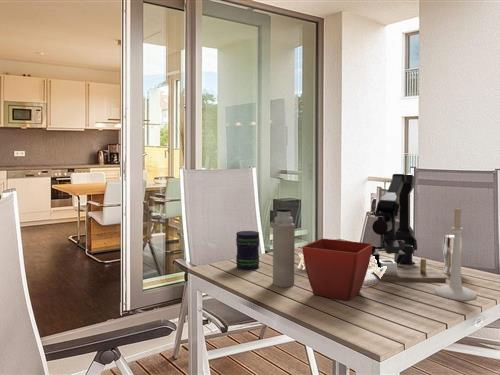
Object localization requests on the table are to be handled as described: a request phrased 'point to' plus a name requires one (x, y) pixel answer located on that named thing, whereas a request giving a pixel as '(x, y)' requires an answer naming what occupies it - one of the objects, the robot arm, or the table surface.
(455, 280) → the candlestick
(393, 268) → the white small box
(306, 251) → the plant pot
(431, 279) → the board
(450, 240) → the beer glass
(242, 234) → the storage jar
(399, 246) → the robot arm
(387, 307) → the table surface
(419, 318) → the table surface
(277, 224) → the thermos bottle
